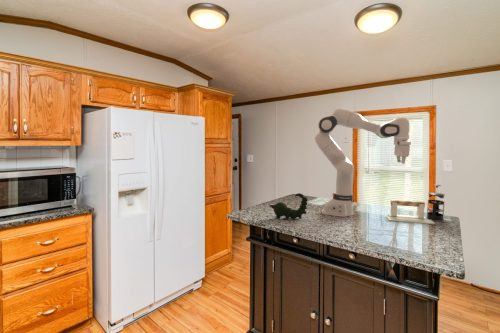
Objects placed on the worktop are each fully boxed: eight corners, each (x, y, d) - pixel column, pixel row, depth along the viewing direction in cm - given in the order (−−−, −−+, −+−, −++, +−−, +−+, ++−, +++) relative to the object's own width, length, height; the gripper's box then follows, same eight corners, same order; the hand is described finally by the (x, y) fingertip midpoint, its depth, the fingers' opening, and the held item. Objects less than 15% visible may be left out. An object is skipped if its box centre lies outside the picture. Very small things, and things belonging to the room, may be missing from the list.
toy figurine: (304, 219, 183) (269, 215, 187) (307, 193, 181) (271, 188, 185) (305, 224, 174) (267, 219, 178) (308, 195, 172) (270, 191, 176)
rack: (389, 216, 183) (390, 202, 182) (388, 214, 188) (388, 200, 187) (426, 219, 176) (427, 204, 175) (424, 217, 181) (424, 202, 180)
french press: (442, 222, 170) (444, 186, 168) (424, 219, 177) (426, 185, 174) (445, 218, 179) (447, 184, 176) (428, 215, 185) (430, 182, 183)
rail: (391, 205, 183) (391, 200, 183) (390, 204, 186) (390, 199, 185) (424, 207, 177) (425, 202, 176) (423, 206, 180) (423, 201, 179)
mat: (389, 220, 174) (389, 219, 174) (386, 217, 181) (386, 216, 181) (435, 224, 166) (435, 223, 166) (431, 220, 173) (431, 219, 173)
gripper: (392, 142, 187) (391, 161, 189) (400, 142, 168) (400, 164, 169) (402, 141, 186) (401, 161, 187) (411, 142, 166) (411, 164, 167)
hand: (400, 162), depth 178 cm, fingers open, 8 cm apart
